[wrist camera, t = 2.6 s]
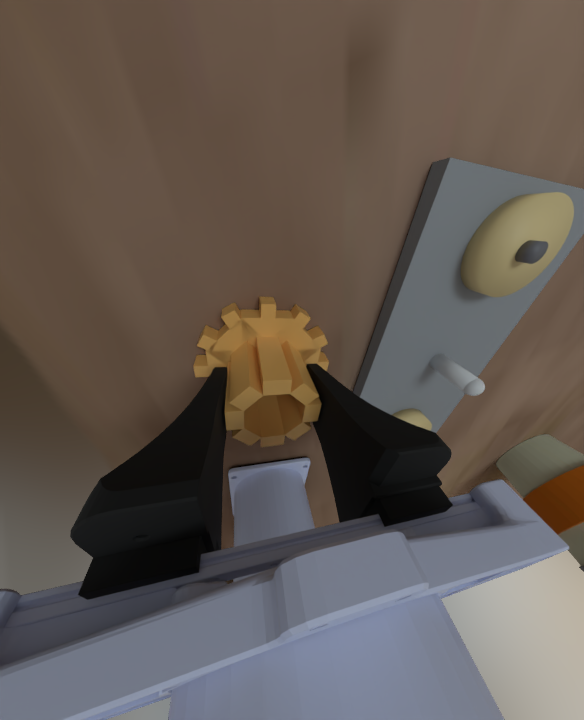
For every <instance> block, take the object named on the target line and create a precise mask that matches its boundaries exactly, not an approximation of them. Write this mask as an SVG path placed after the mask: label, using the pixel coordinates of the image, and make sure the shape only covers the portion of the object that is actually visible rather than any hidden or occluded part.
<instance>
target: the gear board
mask: <svg viewBox="0 0 584 720" xmlns="http://www.w3.org/2000/svg"><path fill="white" fill-rule="evenodd" d="M583 234H584V189H581V188H577V187H573V186H568V185H564V184H560V183H556V182H551V181H547V180H543V179H539V178H534V177H530V176H526V175H522V174H518V173H513V172H509V171H505V170H501V169H496V168H492V167H488V166H484V165H479V164H475V163H471V162H467V161H462V160H458V159H454V158H447V159H444V160H440V161H436V162H433V164H432V166H431V169H430V172H429V175H428V178H427V181H426V184H425V187H424V189H423V192H422V195H421V198H420V201H419V204H418V207H417V210H416V212H415V215H414V218H413V221H412V224H411V227H410V230H409V233H408V235H407V238H406V241H405V244H404V247H403V250H402V253H401V256H400V258H399V261H398V264H397V267H396V270H395V273H394V276H393V279H392V281H391V284H390V287H389V290H388V293H387V296H386V299H385V302H384V304H383V307H382V310H381V313H380V316H379V319H378V322H377V325H376V327H375V330H374V333H373V336H372V339H371V342H370V345H369V348H368V351H367V353H366V356H365V359H364V362H363V365H362V368H361V371H360V374H359V376H358V379H357V382H356V385H355V388H354V391H353V393H354V394H356V395H357V396H359V397H360V398H362V399H363V400H365V401H367V402H368V403H370V404H371V405H373V406H375V407H377V408H379V409H381V410H383V411H384V412H386V413H388V414H390V415H392V416H395V417H397V418H399V419H401V420H404V421H406V422H408V423H411V424H413V425H416V426H418V427H421V428H424V429H427V430H429V431H432V432H435V433H436V432H437V431H438V430H439V428H440V427H441V426H442V424H443V423H444V422H445V420H446V419H447V417H448V416H449V415H450V413H451V412H452V411H453V409H454V408H455V407H456V405H457V404H458V403H459V401H460V400H461V399H462V397H463V396H464V395H465V393H466V394H468V395H472V396H475V395H479V394H481V393H482V392H483V391H484V389H485V385H484V383H483V381H482V380H480V379H479V378H477V377H478V376H479V374H480V373H481V372H482V370H483V369H484V367H485V366H486V365H487V363H488V362H489V361H490V359H491V358H492V357H493V355H494V354H495V353H496V351H497V350H498V349H499V347H500V346H501V345H502V343H503V342H504V340H505V339H506V338H507V336H508V335H509V334H510V332H511V331H512V330H513V328H514V327H515V326H516V324H517V323H518V322H519V320H520V319H521V318H522V316H523V315H524V313H525V312H526V311H527V309H528V308H529V307H530V305H531V304H532V303H533V301H534V300H535V299H536V297H537V296H538V295H539V293H540V292H541V290H542V289H543V288H544V286H545V285H546V284H547V282H548V281H549V280H550V278H551V277H552V276H553V274H554V273H555V272H556V270H557V269H558V268H559V266H560V265H561V263H562V262H563V261H564V259H565V258H566V257H567V255H568V254H569V253H570V251H571V250H572V249H573V247H574V246H575V245H576V243H577V242H578V240H579V239H580V238H581V236H582V235H583Z"/></svg>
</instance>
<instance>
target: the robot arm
mask: <svg viewBox="0 0 584 720" xmlns="http://www.w3.org/2000/svg"><path fill="white" fill-rule="evenodd" d="M306 368H307V370H308V372H309V375H310V377H311V379H312V381H313V383H314V386H315V388H316V390H317V392H318V395H319V399H320V401H321V404H322V405H321V409H320V413H319V417H318V421H313V425H314V427H315V430H316V432H317V435H318V437H319V440H320V443H321V446H322V450H323V453H324V457H325V461H326V464H327V468H328V472H329V476H330V480H331V485H332V489H333V493H334V497H335V502H336V507H337V512H338V516H339V521H340V523H336V524H332V525H328V526H323V527H319V528H315V527H314V523H313V519H312V515H311V511H310V506H309V502H308V498H307V494H306V490H305V486H304V485H305V481H306V478H307V474H308V470H309V466H310V459H309V458H299V459H293V460H286V461H279V462H272V463H265V464H258V465H251V466H244V467H237V468H232V469H230V470H229V471H228V477H229V486H230V494H231V503H232V511H233V515H234V547H231V548H227V549H222V550H221V525H222V484H223V456H224V447H225V439H226V432H227V431H226V421H225V398H226V387H227V374H228V372H227V367H215V368H214V369H213V370H212V372H211V374H210V376H209V378H208V379H207V381H206V382H205V384H204V385H203V387H202V388H201V390H200V391H199V393H198V394H197V395H196V396H195V398H194V399H193V400H192V402H191V403H190V404H189V405H188V406H187V408H186V409H185V410H184V411H183V412H182V413H181V414H180V415H179V416H178V417H177V419H176V420H175V421H174V422H173V423H172V424H170V425H169V426H168V427H167V428H166V429H165V430H164V431H163V432H162V433H161V434H160V435H159V436H158V437H156V438H155V439H154V440H153V441H152V442H150V443H149V444H148V445H147V446H145V447H144V448H143V449H142V450H140V451H139V452H138V453H137V454H135V455H134V456H133V457H131V458H130V459H128V460H127V461H126V462H124V463H123V464H121V465H120V466H118V467H117V468H115V469H114V470H113V471H111V472H110V473H108V474H107V475H105V476H104V477H102V478H101V479H100V480H99V482H98V484H97V485H96V487H95V488H94V489H93V491H92V492H91V494H90V496H89V497H88V499H87V501H86V503H85V505H84V507H83V508H82V511H81V512H80V514H79V516H78V518H77V520H76V522H75V524H74V526H73V527H72V529H71V538H72V540H73V541H74V542H75V544H76V545H78V546H79V547H80V548H82V549H83V550H84V551H85V552H87V553H88V554H89V555H91V556H92V557H93V560H92V562H91V564H90V567H89V569H88V572H87V574H86V576H85V579H84V581H82V582H77V583H73V584H69V585H64V586H60V587H55V588H51V589H47V590H42V591H38V592H34V593H29V594H25V595H20V594H19V593H18V592H17V591H14V590H11V589H0V720H107V719H109V718H112V717H115V716H118V715H120V714H124V713H126V712H129V711H132V710H135V709H138V708H141V707H144V706H146V705H149V704H152V703H155V702H158V701H160V700H163V699H166V698H169V697H171V702H170V710H169V717H168V720H505V719H504V718H503V716H502V714H501V712H500V710H499V708H498V706H497V704H496V703H495V701H494V699H493V697H492V695H491V693H490V691H489V689H488V687H487V686H486V684H485V682H484V680H483V678H482V676H481V674H480V672H479V671H478V668H477V667H476V665H475V663H474V661H473V659H472V657H471V655H470V653H469V651H468V650H467V648H466V646H465V644H464V642H463V640H462V638H461V636H460V634H459V633H458V631H457V629H456V627H455V625H454V623H453V621H452V619H451V618H450V616H449V614H448V612H447V610H446V608H445V606H444V604H443V602H442V600H441V599H442V598H444V597H447V596H450V595H452V594H455V593H458V592H460V591H463V590H466V589H468V588H471V587H474V586H476V585H479V584H482V583H484V582H487V581H490V580H493V579H495V578H498V577H501V576H503V575H506V574H509V573H512V572H514V571H517V570H520V569H523V568H525V567H527V566H530V565H532V564H535V563H537V562H539V561H542V560H544V559H547V558H549V557H552V556H554V555H556V554H559V553H561V552H564V551H566V550H568V549H569V546H568V545H567V544H566V543H565V542H564V541H563V540H562V539H561V538H560V537H559V536H558V535H557V534H556V533H555V532H554V531H553V530H552V529H551V528H550V527H549V526H548V525H547V524H546V523H545V522H544V521H543V520H542V519H541V518H540V517H539V516H538V515H537V514H536V513H535V512H534V511H533V510H532V509H531V508H530V507H529V506H528V505H527V504H526V503H525V502H524V501H523V500H522V499H521V498H520V497H519V496H518V495H517V494H516V493H515V492H514V491H513V490H512V489H511V488H510V487H509V486H508V485H507V484H506V483H505V482H504V481H503V480H501V479H498V480H494V481H489V482H484V483H481V484H479V485H477V486H476V487H474V488H473V489H472V490H471V491H470V493H468V494H464V495H459V496H455V497H451V498H447V496H446V495H445V493H444V492H443V491H442V489H441V488H440V487H439V486H441V485H442V482H441V481H440V479H439V478H438V477H437V474H438V473H439V472H440V471H441V469H442V468H443V467H444V466H445V465H446V464H447V463H448V461H449V460H450V457H451V450H450V448H449V447H448V446H447V445H446V444H445V443H444V442H443V441H442V440H441V438H440V437H439V436H438V435H437V434H436V433H435V432H432V431H429V430H427V429H424V428H421V427H418V426H416V425H413V424H411V423H408V422H406V421H404V420H401V419H399V418H397V417H395V416H392V415H390V414H388V413H386V412H384V411H383V410H381V409H379V408H377V407H375V406H373V405H371V404H370V403H368V402H367V401H365V400H363V399H362V398H360V397H359V396H357V395H356V394H354V393H353V392H351V391H350V390H349V389H347V388H346V387H345V386H343V385H342V384H341V383H340V382H338V381H337V380H336V379H335V378H333V377H332V376H331V375H330V374H329V373H328V372H326V371H325V370H324V369H323V368H322V367H320V366H319V365H318V364H317V363H315V364H307V365H306ZM232 579H234V582H233V583H230V584H227V583H226V582H225V581H228V580H232Z"/></svg>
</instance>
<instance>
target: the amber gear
mask: <svg viewBox="0 0 584 720" xmlns="http://www.w3.org/2000/svg"><path fill="white" fill-rule="evenodd" d="M221 318H222V319H223V321H224V322H225V323H226V324H225V325H224V326H223V327H222V328H221V329H220V330H219V331H218V330H216V329H213V328H211V327H209V326H207V325H205V327H204V329H203V331H202V333H201V335H200V337H199V341H198V344H197V346H198V347H201V348H203V349H205V350H206V355H197V356H196V360H195V363H194V366H193V367H194V372H195V377H209V376H210V374H211V372H212V370H213V369H214V368H215V367H227V372H228V374H227V387H226V398H225V421H226V431H227V430H232V438H235V439H237V440H239V441H241V442H243V443H245V444H247V445H249V446H251V445H253V444H254V443H255V442H257V441H258V440H259V439H260V443H261V447H267V446H275V445H283V444H284V439H285V436H287V437H289V438H290V439H292V440H296V439H297V438H298V437H300V436H301V435H303V434H304V433H306V432H307V431H309V430H310V429H312V428H311V425H310V422H313V421H318V417H319V413H320V409H321V405H322V404H321V401H320V399H319V395H318V392H317V390H316V388H315V386H314V383H313V381H312V379H311V377H310V375H309V372H308V370H307V368H306V365H307V364H315V363H317V364H318V365H319V366H320V367H322V368H323V369H324V370H325V371H327V368H328V364H329V361H328V359H327V358H326V356H325V354H324V353H323V352H320V350H321V347H323V346H325V345H327V344H328V343H327V340H326V338H325V335H324V333H323V332H322V331H321V329H320V328H319V327H318V326H316V327H314V328H312V329H310V330H308V331H307V330H306V329H305V328H304V327H305V326H306V324H307V323H308V322H309V320H310V319H311V318H310V317H309V315H308V314H307V312H306V311H305V310H304V309H302V308H301V307H299V306H298V305H296V304H295V305H294V307H293V308H292V309H291V311H289V310H276V303H275V301H274V298H273V297H259V310H246V309H241V310H239V308H238V307H237V305H236V304H235V302H234V303H232V304H230V305H228V306H227V307H225V308H223V309H222V315H221Z"/></svg>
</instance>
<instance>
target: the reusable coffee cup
mask: <svg viewBox="0 0 584 720" xmlns="http://www.w3.org/2000/svg"><path fill="white" fill-rule="evenodd" d="M496 466H497V467H498V469H499V470H500V471H501V472H502V473H503V474H504V476H505V477H506V478H507V479H508V480H509V481H510V483H511V484H512V485H513V486H514V487H515V489H516V490H517V491H518V492H519V493H520V494H521V496H522V497H523V498H524V499H523V501H524V502H525V503H526V504H527V505H528V506H529V507H530V508H531V509H532V510H533V511H534V512H535V513H536V514H537V515H538V516H539V517H540V518H541V519H542V520H543V521H544V522H545V523H546V524H547V525H548V526H549V527H550V528H551V529H552V530H553V531H554V532H555V533H556V534H557V535H558V536H559V537H560V538H561V539H562V540H563V541H564V542H565V543H566V544H567V545H568V546H569V549H568V551H569V552H570V553H571V554H572V555H573V557H574V558H575V559H576V560H577V561H578V563H579V564H580V565H581V566H580V567H579V568H581V570H583V571H584V455H583V454H581V453H579V452H578V451H576V450H574V449H573V448H571V447H569V446H567V445H566V444H564V443H562V442H561V441H559V440H557V439H555V438H554V437H552V436H550V435H548V434H544V435H539V436H536V437H533V438H530V439H528V440H526V441H524V442H522V443H520V444H518V445H517V446H515V447H513V448H512V449H510V450H509V451H507V452H506V453H505V454H504V455H503V456H501V457H500V459H499V460H498V461H497V463H496Z"/></svg>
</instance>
